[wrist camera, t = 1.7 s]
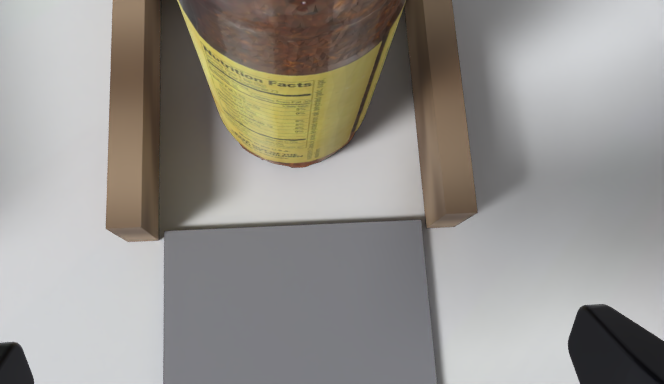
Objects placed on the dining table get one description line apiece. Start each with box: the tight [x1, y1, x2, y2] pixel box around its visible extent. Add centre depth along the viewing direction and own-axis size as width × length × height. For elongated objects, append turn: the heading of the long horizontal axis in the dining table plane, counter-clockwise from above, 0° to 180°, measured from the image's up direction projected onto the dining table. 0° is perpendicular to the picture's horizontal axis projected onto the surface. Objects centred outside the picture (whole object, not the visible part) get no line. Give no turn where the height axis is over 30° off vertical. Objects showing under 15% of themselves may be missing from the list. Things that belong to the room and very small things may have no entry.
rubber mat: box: [163, 220, 437, 384], centre depth 22 cm, size 10×10×1 cm
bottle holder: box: [106, 0, 478, 242], centre depth 24 cm, size 12×13×3 cm
